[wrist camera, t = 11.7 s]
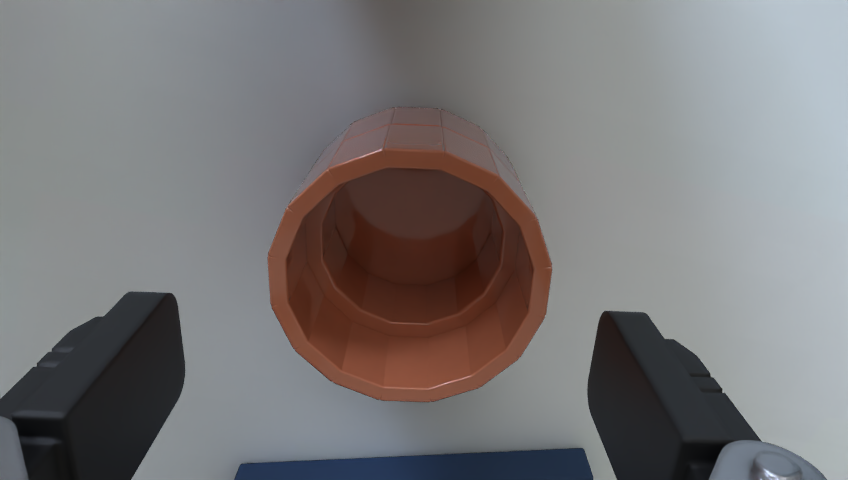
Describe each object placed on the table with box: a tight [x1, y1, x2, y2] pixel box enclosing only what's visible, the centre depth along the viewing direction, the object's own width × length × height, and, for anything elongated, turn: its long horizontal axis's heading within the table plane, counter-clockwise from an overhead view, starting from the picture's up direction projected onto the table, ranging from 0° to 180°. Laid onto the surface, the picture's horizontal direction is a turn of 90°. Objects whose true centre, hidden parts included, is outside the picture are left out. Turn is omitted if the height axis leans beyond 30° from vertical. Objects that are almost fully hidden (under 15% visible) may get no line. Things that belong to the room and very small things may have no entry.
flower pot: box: [267, 107, 552, 402], centre depth 15 cm, size 6×6×5 cm
